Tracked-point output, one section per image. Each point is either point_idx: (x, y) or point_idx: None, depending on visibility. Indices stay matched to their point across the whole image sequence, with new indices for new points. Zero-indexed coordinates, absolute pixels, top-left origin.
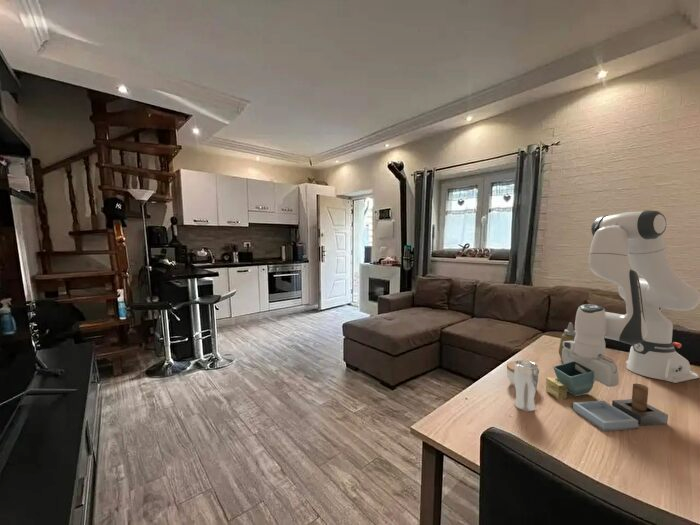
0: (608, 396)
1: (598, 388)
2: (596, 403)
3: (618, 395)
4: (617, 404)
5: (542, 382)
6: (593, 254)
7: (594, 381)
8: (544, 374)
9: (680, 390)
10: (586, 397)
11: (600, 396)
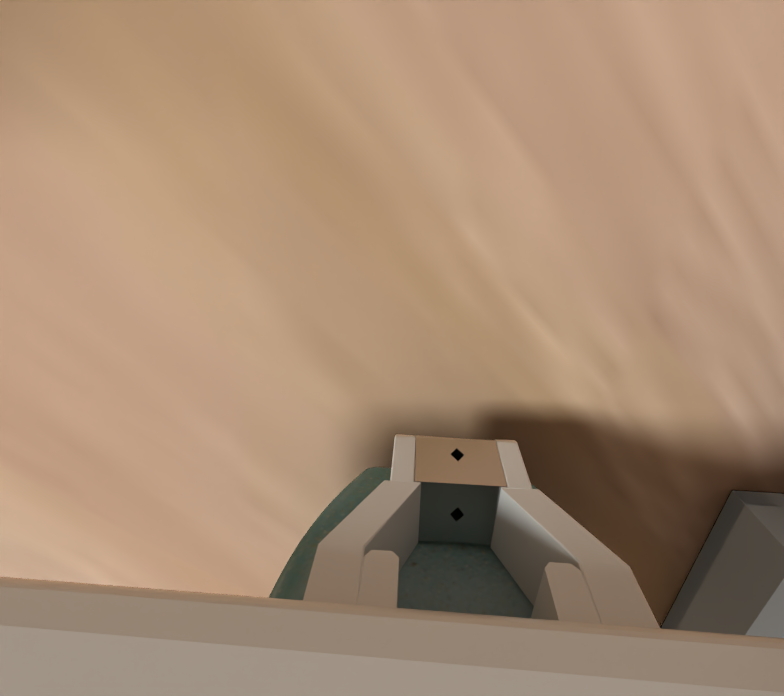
0: (594, 227)
1: (372, 155)
2: (771, 633)
3: (630, 16)
4: None
5: (227, 590)
6: None
7: (577, 532)
8: (47, 484)
9: None
10: (530, 478)
11: (559, 330)
